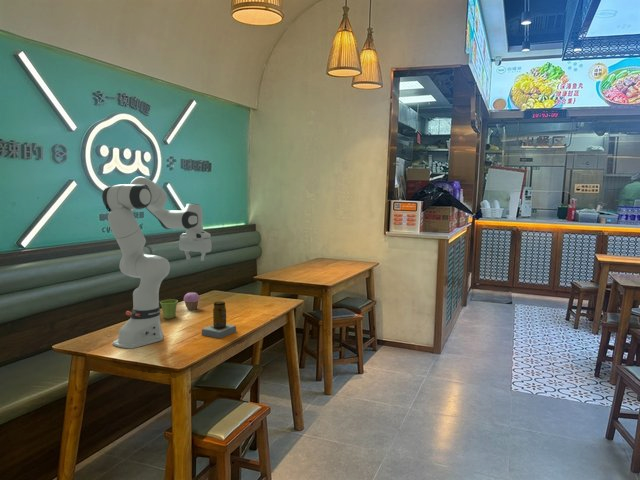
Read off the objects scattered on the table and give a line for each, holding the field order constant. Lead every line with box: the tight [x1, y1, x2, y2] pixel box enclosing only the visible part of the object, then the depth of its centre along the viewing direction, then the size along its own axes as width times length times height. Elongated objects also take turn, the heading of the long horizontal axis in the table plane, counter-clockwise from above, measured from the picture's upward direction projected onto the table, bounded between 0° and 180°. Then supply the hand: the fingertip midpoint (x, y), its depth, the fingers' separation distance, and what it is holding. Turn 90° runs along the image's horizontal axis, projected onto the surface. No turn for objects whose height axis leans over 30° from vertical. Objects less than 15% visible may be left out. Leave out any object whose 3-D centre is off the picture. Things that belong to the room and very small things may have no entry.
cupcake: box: [183, 292, 201, 311], centre depth 266 cm, size 9×9×10 cm
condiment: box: [209, 300, 232, 330], centre depth 222 cm, size 7×8×12 cm
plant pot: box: [159, 299, 179, 319], centre depth 250 cm, size 9×9×9 cm
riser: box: [201, 323, 237, 339], centre depth 223 cm, size 12×11×3 cm
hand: (195, 259), depth 249 cm, fingers open, 8 cm apart
